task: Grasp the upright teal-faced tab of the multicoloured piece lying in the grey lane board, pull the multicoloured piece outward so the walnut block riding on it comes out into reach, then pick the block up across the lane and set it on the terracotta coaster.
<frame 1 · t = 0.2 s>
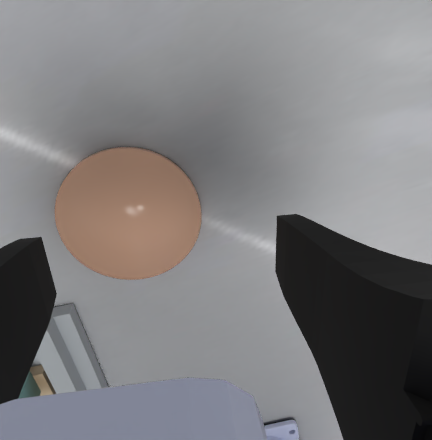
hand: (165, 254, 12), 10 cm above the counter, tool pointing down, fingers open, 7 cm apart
lane board: (50, 425, 28), on the counter
coaster: (130, 215, 22), on the counter
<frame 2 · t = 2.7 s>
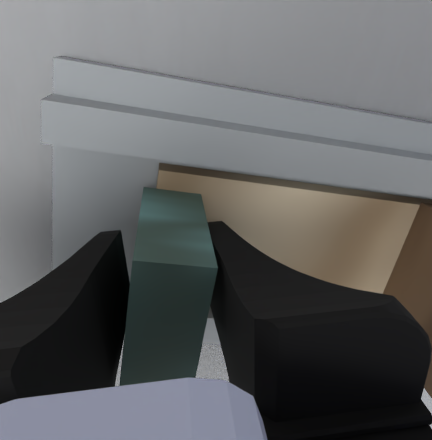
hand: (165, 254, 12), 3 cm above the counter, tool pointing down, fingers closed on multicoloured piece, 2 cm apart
lane board: (319, 234, 16), on the counter
multicoloured piece: (377, 288, 12), point 4 cm above the counter, slide at 0.0 cm, touching gripper, walnut block
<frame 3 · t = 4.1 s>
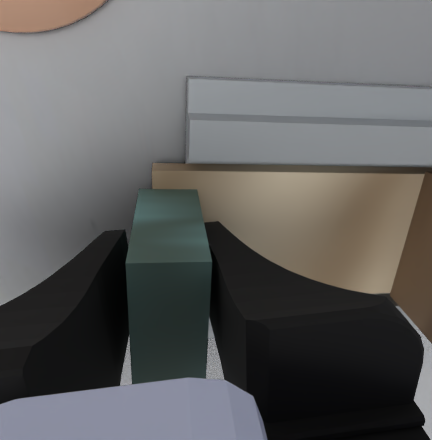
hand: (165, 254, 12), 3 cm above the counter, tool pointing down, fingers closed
lane board: (427, 216, 16), on the counter
multicoloured piece: (388, 265, 12), point 4 cm above the counter, slide at 4.4 cm, touching gripper, walnut block
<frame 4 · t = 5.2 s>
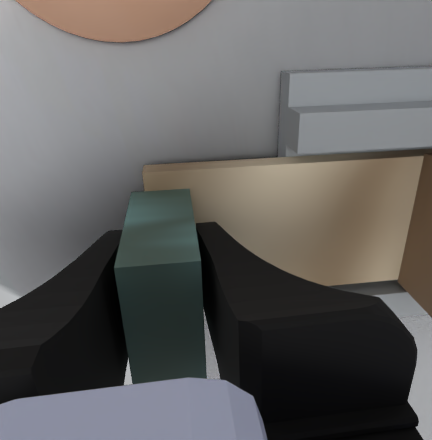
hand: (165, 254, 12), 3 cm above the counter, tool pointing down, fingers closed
multicoloured piece: (388, 251, 12), point 4 cm above the counter, slide at 8.0 cm, touching walnut block
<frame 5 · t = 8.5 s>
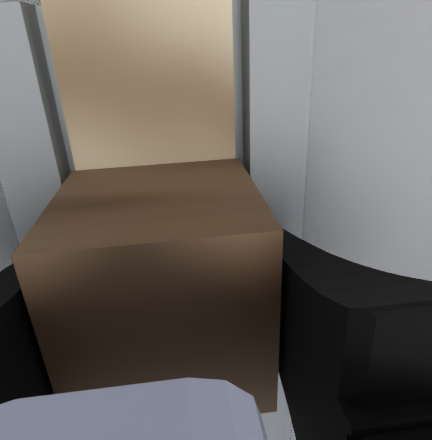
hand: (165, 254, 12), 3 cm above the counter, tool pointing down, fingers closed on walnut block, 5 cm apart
lane board: (172, 283, 16), on the counter
multicoloured piece: (147, 114, 9), point 4 cm above the counter, slide at 8.0 cm, touching walnut block
walnut block: (165, 237, 13), point 2 cm above the counter, touching gripper, multicoloured piece
when the fingers open (3 cm above the counter, at t = 12.3 s): walnut block drops 1 cm, resting on coaster.
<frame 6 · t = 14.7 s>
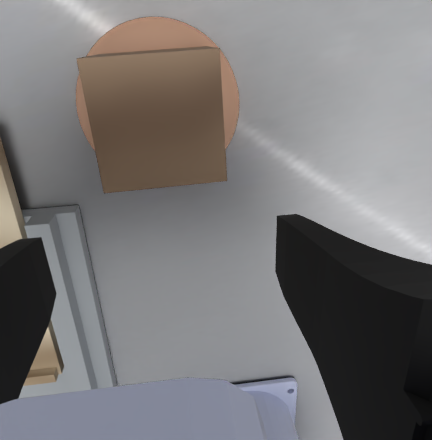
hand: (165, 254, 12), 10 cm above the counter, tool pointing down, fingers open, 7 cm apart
lane board: (30, 352, 25), on the counter
walnut block: (160, 105, 19), resting on coaster
coaster: (159, 106, 20), on the counter
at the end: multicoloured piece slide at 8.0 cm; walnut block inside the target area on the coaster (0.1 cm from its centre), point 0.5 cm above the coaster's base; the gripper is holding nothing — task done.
